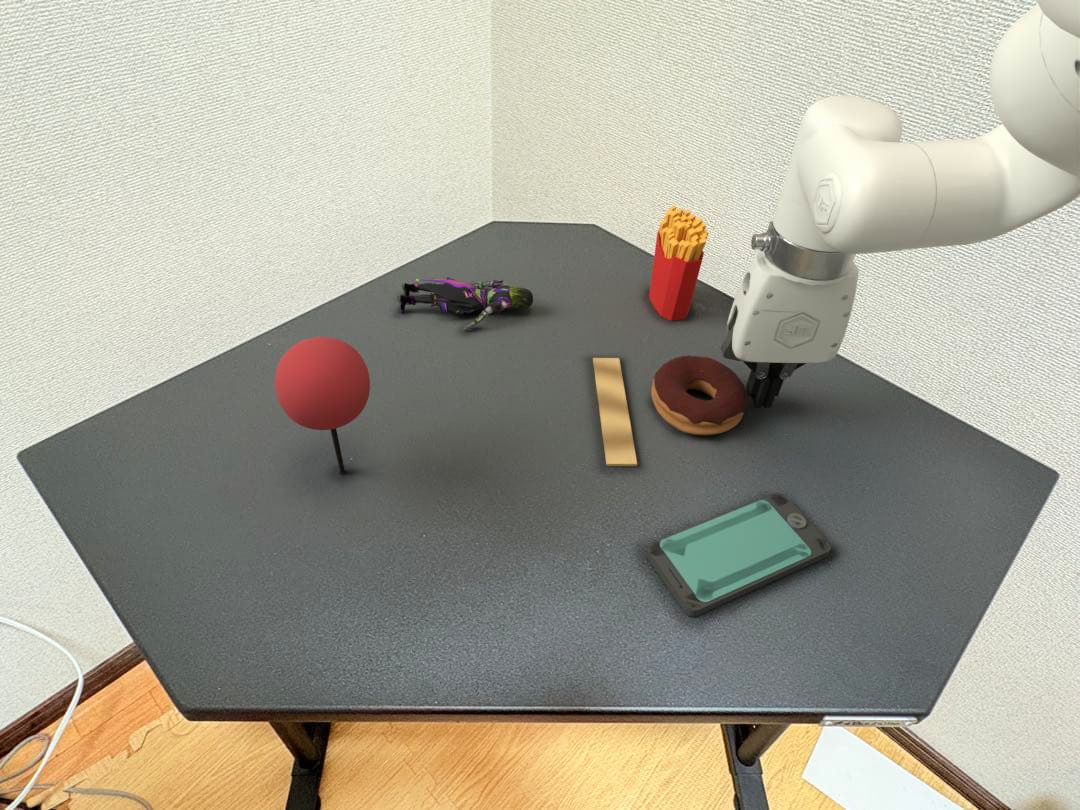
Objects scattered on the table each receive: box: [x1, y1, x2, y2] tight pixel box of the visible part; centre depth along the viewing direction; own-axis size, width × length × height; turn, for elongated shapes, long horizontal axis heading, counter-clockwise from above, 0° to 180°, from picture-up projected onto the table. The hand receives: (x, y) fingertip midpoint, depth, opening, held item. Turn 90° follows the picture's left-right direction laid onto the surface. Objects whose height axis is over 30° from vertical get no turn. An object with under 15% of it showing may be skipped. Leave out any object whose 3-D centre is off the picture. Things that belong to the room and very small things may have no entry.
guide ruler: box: [592, 357, 638, 467], centre depth 76 cm, size 16×3×1 cm, turn 2°
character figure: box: [397, 276, 534, 331], centre depth 87 cm, size 9×4×16 cm
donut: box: [650, 355, 749, 436], centre depth 76 cm, size 10×10×4 cm
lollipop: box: [274, 336, 371, 476], centre depth 64 cm, size 8×8×15 cm
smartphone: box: [645, 492, 831, 618], centre depth 63 cm, size 7×1×15 cm
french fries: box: [648, 204, 709, 322], centre depth 86 cm, size 8×4×12 cm, turn 15°
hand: (759, 398), depth 77 cm, fingers closed
